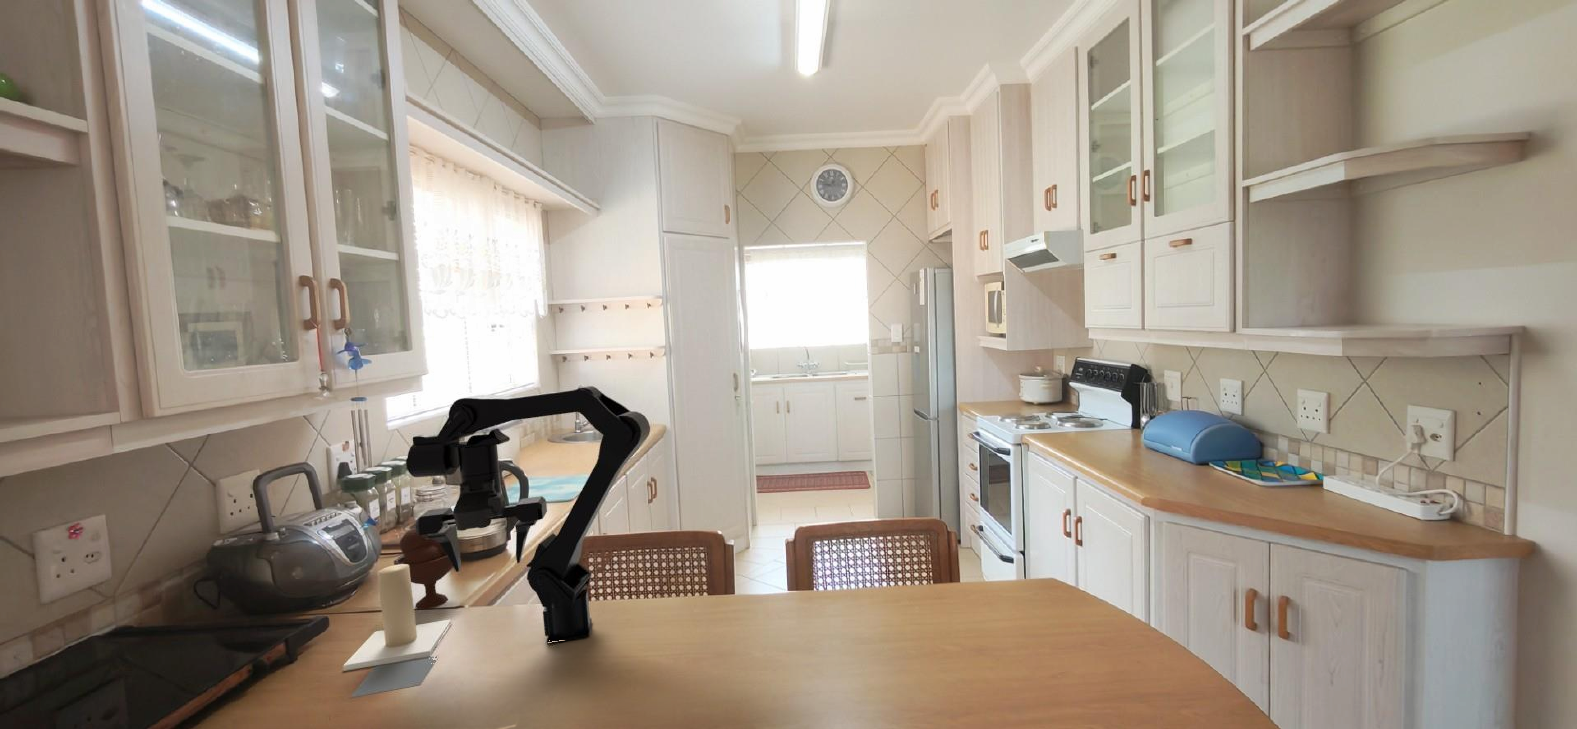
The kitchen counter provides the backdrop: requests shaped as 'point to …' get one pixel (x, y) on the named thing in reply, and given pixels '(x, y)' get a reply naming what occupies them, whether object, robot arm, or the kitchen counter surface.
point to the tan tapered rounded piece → (397, 605)
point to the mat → (395, 676)
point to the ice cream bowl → (425, 565)
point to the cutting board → (379, 653)
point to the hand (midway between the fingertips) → (488, 566)
